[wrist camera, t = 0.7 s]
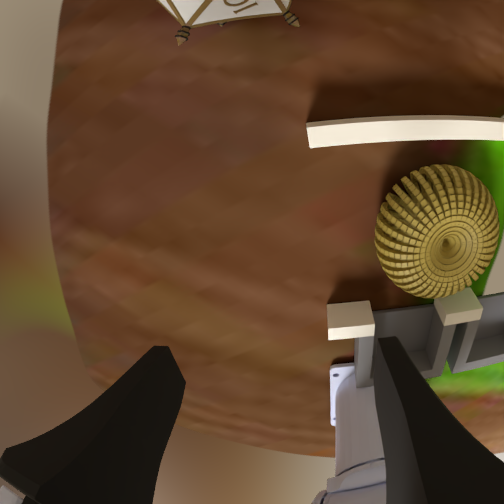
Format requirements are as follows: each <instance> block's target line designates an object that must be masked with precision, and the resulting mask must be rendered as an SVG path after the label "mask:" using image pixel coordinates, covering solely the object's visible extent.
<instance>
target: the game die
mask: <svg viewBox="0 0 504 504" xmlns="http://www.w3.org/2000/svg"><path fill="white" fill-rule="evenodd" d="M157 1H158V2H159V3H160V4H161V5H162V6H163V7H164V8H165V9H166V10H167V11H168V12H169V13H170V14H171V15H172V16H173V17H174V18H175V19H176V20H177V21H178V22H179V23H180V24H181V25H182V28H181V29H180V31H178V34H177V35H175V37H176V38H177V42H178V46H179V45H181V44H182V43H183V42H185V41H187V40H188V38H187V37H188V36H189V35H190V33H189V30H190V29H191V28H196V27H200V26H205V25H211V24H216V23H217V24H219V25H220V26H221V27H222V26H223V25H224V24H225V23H226V22H228V21H234V20H241V19H249V18H257V17H267V16H278V15H283V16H284V17H285V19H286V20H285V21H287V22H288V23H289V25H293V26H297V27H300V25H299V21H298V18H297V17H296V16H295V14H292V13H290V12H289V8H290V5H291V2H292V0H157Z"/></svg>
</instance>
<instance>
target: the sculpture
mask: <svg viewBox="0 0 504 504" xmlns="http://www.w3.org/2000/svg"><path fill="white" fill-rule="evenodd" d="M434 172H435V173H434ZM425 174H427V175H426V181H425ZM410 180H411V181H409V179H408V178H407V177H406V176H404V177H403V178H402V179H401V182H402V184H403V186H404V187H405V189H406V190H407V192H408V193H409V195H410V196H411V197H412V199H413V200H414V201H413V200H412V199H411V198H410V197H409V196H408V195H407V194H406V193H405V192H404V191H403V190H402V189H401V188H400V187H399V186H398V185H397V184H395V185H394V187H393V190H394V191H395V192H396V193H397V194H398V195H399V197H397V196H395V195H394V194H392V193H388V194H387V196H386V197H385V198H386V200H387V202H385V203H383V204H382V205H381V207H380V211H381V213H379V214H378V215H377V219H376V220H377V221H376V222H377V224H376V226H375V246H376V252H377V256H378V259H379V261H380V264H381V266H382V268H383V270H384V271H385V273H386V274H387V276H388V277H389V279H391V280H392V281H393V283H394V284H395V285H397V286H398V287H400V288H401V289H403V291H405V292H408V293H411V294H412V295H414V296H417V297H418V296H420V297H422V298H423V297H424V298H430V297H431V298H439V297H440V298H444V297H447V296H449V295H454V294H456V293H457V291H459V292H461V291H463V290H464V289H465V287H464V286H465V284H466V286H467V287H469V286H470V285H472V282H471V279H470V277H469V276H468V273H469V275H470V276H471V277H472V278H473V279H474V280H475V281H476V280H477V279H478V278H479V277H478V275H477V274H476V273H475V271H476V272H477V273H478V272H479V274H483V273H484V271H485V268H484V266H485V267H486V266H487V267H488V266H489V264H490V261H491V260H490V259H492V258H493V256H494V254H495V249H496V248H497V244H498V238H499V220H498V219H499V218H498V211H497V208H496V205H495V201H494V199H493V198H492V195H491V194H490V192H489V190H488V189H487V187H485V185H483V183H482V181H480V180H479V179H478V178H477V177H475V176H474V175H473V174H472V173H470V172H469V171H466V170H463V169H462V168H460V167H457V166H451V165H447V164H442V165H440V166H439V164H435V165H431V166H430V167H429V168H428V166H424V167H423V168H422V167H421V168H420V169H419V172H418V171H417V170H414V171H412V172H410ZM417 181H418V182H419V185H420V188H419V187H418V184H417V183H418V182H417ZM431 183H432V184H431ZM462 184H463V185H462ZM420 189H421V191H420ZM421 193H422V194H421ZM399 204H400V205H402V206H403V207H402V206H400V205H399ZM474 205H475V206H474ZM404 207H405V208H404ZM388 209H391V210H388ZM393 209H394V210H396V211H397V212H396V211H392V210H393ZM475 213H476V214H477V215H476V214H475ZM478 215H479V216H478ZM384 218H386V219H385V220H384ZM416 218H417V219H416ZM476 222H477V223H476ZM390 224H391V225H390ZM392 224H393V225H392ZM410 225H411V226H410ZM386 234H387V235H386ZM487 252H488V253H487ZM393 258H394V259H393ZM458 259H459V260H458ZM407 260H408V261H407ZM474 270H475V271H474ZM466 271H467V272H468V273H467V272H466Z"/></svg>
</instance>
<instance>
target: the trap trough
mask: <svg viewBox="0 0 504 504" xmlns="http://www.w3.org/2000/svg"><path fill="white" fill-rule="evenodd" d="M306 126H307V133H308V139H309V146H310V148H316V147H326V146H336V145H347V144H359V143H372V142H388V141H409V140H503V141H504V118H497V117H481V116H457V115H406V116H380V117H363V118H349V119H338V120H327V121H318V122H309V123H306ZM327 319H328V338H329V340H335V339H346V338H355V350H354V364H355V380H356V388H362V387H371V386H374V382H373V375H374V367H375V358H376V349H377V338H383V337H392V336H396V337H397V338H398V339H399V340H400V342H401V344H402V346H403V347H404V349H405V350H406V352H407V354H408V355H409V357H410V358H411V360H412V361H413V363H414V364H415V366H416V367H417V369H418V370H419V372H420V373H421V375H422V376H423V377H424V379H427V378H432V377H437V376H441V374H442V371H443V368H444V365H445V362H446V359H447V361H448V364H449V367H450V370H451V372H452V374H453V373H457V372H462V371H466V370H471V369H475V368H479V367H483V366H487V365H491V364H495V363H499V362H502V361H504V292H501V293H496V294H491V295H484V296H479V297H476V295H475V294H474V292H473V291H472V289H471V288H470V287H469V288H465V289H464V290H463V291H461V292H459V291H457V293H456V294H454V295H449V296H447V297H444V298H440V297H439V298H434V304H427V305H420V306H412V307H404V308H396V309H388V310H379V311H372V309H371V305H370V301H369V300H368V301H358V302H348V303H337V304H327Z"/></svg>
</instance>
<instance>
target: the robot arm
mask: <svg viewBox="0 0 504 504" xmlns="http://www.w3.org/2000/svg"><path fill="white" fill-rule="evenodd" d="M335 373H337V374H335ZM373 382H374V386H371V387H362V388H356V380H355V364H354V363H344V364H334V365H332V366H331V367H330V395H331V425H333V426H336V465H335V467H336V468H335V477H333V478H329V479H327V490H323V491H321V492H319V493H318V495H317V496H316V497H315V499H314V500H313V502H312V503H311V504H504V462H503V461H501V460H500V459H499V458H497V457H496V456H495V455H494V454H493V453H491V452H490V451H489V450H488V449H487V448H486V447H485V446H484V445H482V444H481V443H480V442H479V441H478V440H477V439H476V438H474V437H473V436H472V435H471V434H470V433H469V432H468V431H467V430H466V429H465V428H464V427H463V425H462V424H461V423H460V422H459V421H458V420H457V419H456V418H455V417H454V416H453V415H452V413H451V412H450V411H449V410H448V409H447V408H446V406H445V405H444V404H443V403H442V401H441V400H440V399H439V398H438V396H437V395H436V394H435V392H434V391H433V390H432V389H431V387H430V386H429V384H428V383H427V382H426V380H425V379H424V377H423V376H422V375H421V373H420V372H419V370H418V369H417V367H416V366H415V364H414V363H413V361H412V360H411V358H410V357H409V355H408V354H407V352H406V350H405V349H404V347H403V346H402V344H401V342H400V340H399V339H398V338H397V337H396V336H392V337H383V338H377V349H376V358H375V367H374V375H373ZM185 384H186V382H185V380H184V378H183V376H182V374H181V372H180V370H179V367H178V365H177V363H176V361H175V359H174V357H173V355H172V353H171V351H170V349H169V347H168V346H153V347H152V348H151V349H150V350H149V351H148V352H147V353H146V354H144V355H143V356H142V357H141V358H140V359H139V360H138V361H137V362H136V363H135V364H134V365H133V366H132V367H131V368H130V369H129V370H128V371H127V372H126V373H125V374H124V375H123V376H122V377H121V378H119V379H118V380H117V381H116V382H115V383H114V384H113V385H112V386H111V387H110V388H109V389H107V390H106V391H105V392H104V393H103V394H102V395H101V396H99V397H98V398H97V399H96V400H95V401H94V402H93V403H91V404H90V405H88V406H87V407H86V408H85V409H83V410H82V411H81V412H79V413H78V414H76V415H75V416H73V417H72V418H70V419H69V420H67V421H65V422H64V423H62V424H60V425H59V426H57V427H55V428H54V429H52V430H50V431H48V432H46V433H44V434H42V435H40V436H38V437H36V438H33V439H32V440H29V441H26V442H24V443H21V444H18V445H15V446H12V447H9V448H6V450H5V451H4V453H3V455H2V456H1V458H0V477H1V478H3V479H4V480H5V481H6V482H8V483H9V484H11V485H12V486H13V487H15V488H16V489H17V490H19V491H20V492H22V493H23V494H25V495H26V496H25V498H24V499H22V498H21V497H19V496H18V495H16V494H15V493H14V492H12V491H11V490H9V489H8V488H7V487H5V486H2V487H1V489H0V504H152V502H153V497H154V491H155V485H156V480H157V476H158V471H159V467H160V463H161V459H162V456H163V453H164V451H165V448H166V445H167V442H168V440H169V437H170V434H171V431H172V429H173V426H174V424H175V421H176V418H177V415H178V413H179V410H180V407H181V403H182V399H183V394H184V389H185Z"/></svg>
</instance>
